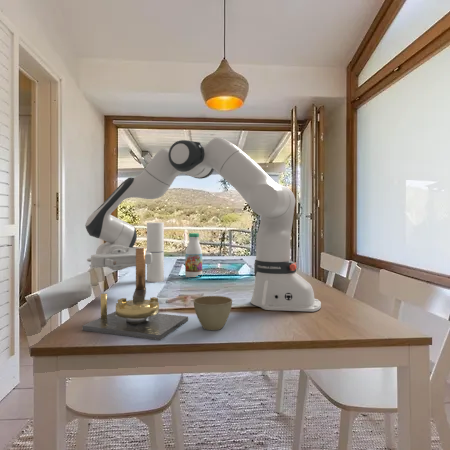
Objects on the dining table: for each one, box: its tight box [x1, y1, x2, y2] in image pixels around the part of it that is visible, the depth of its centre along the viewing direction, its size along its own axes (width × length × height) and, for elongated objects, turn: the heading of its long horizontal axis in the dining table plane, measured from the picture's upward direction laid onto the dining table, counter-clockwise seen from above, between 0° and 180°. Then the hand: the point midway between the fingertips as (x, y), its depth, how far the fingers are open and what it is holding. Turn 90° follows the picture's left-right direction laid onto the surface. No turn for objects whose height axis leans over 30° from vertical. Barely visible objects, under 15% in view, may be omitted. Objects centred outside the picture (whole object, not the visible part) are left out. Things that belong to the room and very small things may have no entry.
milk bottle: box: [184, 232, 203, 278], centre depth 167 cm, size 8×8×20 cm
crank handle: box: [115, 247, 160, 318], centre depth 100 cm, size 20×11×15 cm, turn 10°
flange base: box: [82, 292, 189, 341], centre depth 96 cm, size 22×16×8 cm
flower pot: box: [192, 295, 233, 331], centre depth 94 cm, size 10×10×7 cm
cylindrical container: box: [146, 221, 165, 283], centre depth 157 cm, size 7×7×25 cm
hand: (128, 262), depth 118 cm, fingers open, 8 cm apart
